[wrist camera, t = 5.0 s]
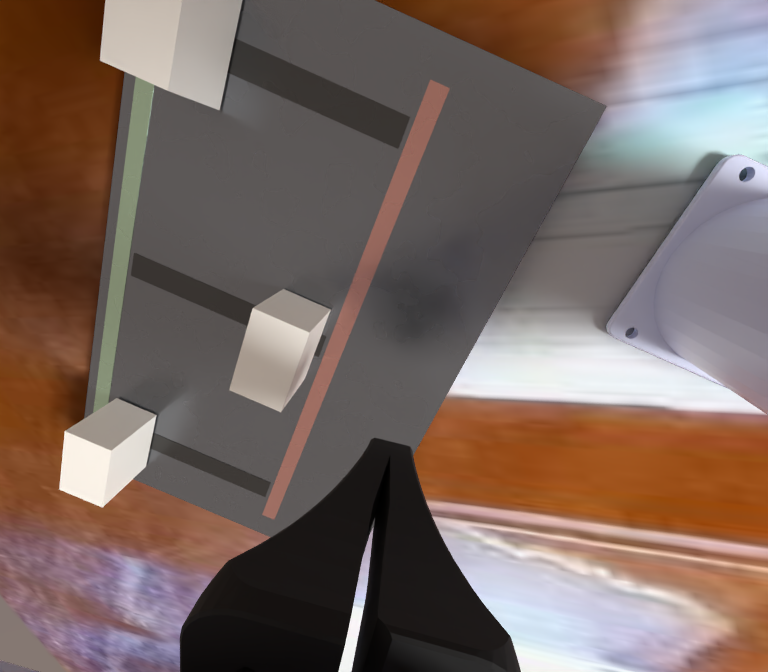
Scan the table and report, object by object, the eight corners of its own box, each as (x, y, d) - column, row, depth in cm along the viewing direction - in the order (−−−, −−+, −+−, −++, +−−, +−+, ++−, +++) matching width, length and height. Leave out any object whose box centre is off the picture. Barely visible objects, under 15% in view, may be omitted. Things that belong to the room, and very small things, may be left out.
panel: (596, 111, 15) (607, 106, 14) (352, 556, 25) (349, 570, 24) (164, -86, 14) (144, -105, 13) (93, 446, 24) (79, 456, 23)
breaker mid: (330, 309, 18) (309, 332, 15) (305, 378, 19) (280, 412, 16) (283, 288, 18) (252, 307, 15) (261, 359, 19) (229, 390, 16)
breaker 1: (156, 415, 21) (111, 450, 18) (145, 466, 23) (102, 507, 20) (116, 398, 21) (64, 431, 18) (108, 451, 23) (59, 489, 20)
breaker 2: (243, -6, 14) (191, -59, 11) (219, 110, 16) (167, 90, 13) (183, -34, 14) (114, -95, 11) (164, 85, 15) (99, 60, 13)
